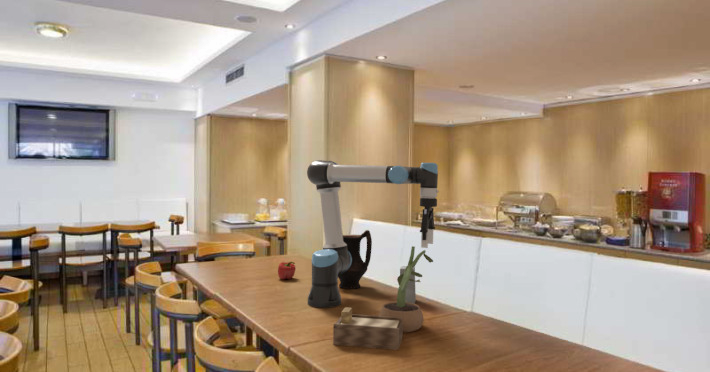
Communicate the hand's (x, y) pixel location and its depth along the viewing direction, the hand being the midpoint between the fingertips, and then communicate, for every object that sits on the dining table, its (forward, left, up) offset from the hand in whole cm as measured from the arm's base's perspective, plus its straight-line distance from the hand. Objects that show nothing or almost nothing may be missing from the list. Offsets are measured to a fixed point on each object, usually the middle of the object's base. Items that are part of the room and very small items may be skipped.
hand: (427, 245), depth 212 cm
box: (-17, -51, -27) cm, 60 cm away
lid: (-17, -51, -21) cm, 58 cm away
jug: (-40, +27, -27) cm, 55 cm away
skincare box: (-9, +6, -27) cm, 29 cm away
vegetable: (-79, +38, -27) cm, 92 cm away
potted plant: (-6, -30, -27) cm, 41 cm away
